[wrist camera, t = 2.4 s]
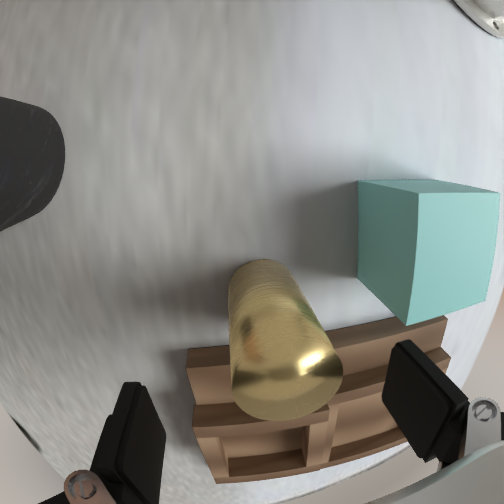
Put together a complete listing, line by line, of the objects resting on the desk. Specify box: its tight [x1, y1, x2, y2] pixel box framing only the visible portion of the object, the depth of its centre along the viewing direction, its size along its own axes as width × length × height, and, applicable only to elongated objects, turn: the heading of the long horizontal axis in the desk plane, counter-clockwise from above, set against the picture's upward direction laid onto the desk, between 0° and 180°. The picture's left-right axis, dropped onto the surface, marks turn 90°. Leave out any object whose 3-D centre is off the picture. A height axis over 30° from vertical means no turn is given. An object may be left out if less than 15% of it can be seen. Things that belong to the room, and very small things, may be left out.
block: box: [357, 180, 500, 326], centre depth 14 cm, size 6×6×6 cm
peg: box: [228, 259, 343, 421], centre depth 13 cm, size 4×4×8 cm
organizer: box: [186, 315, 451, 484], centre depth 19 cm, size 15×18×4 cm
